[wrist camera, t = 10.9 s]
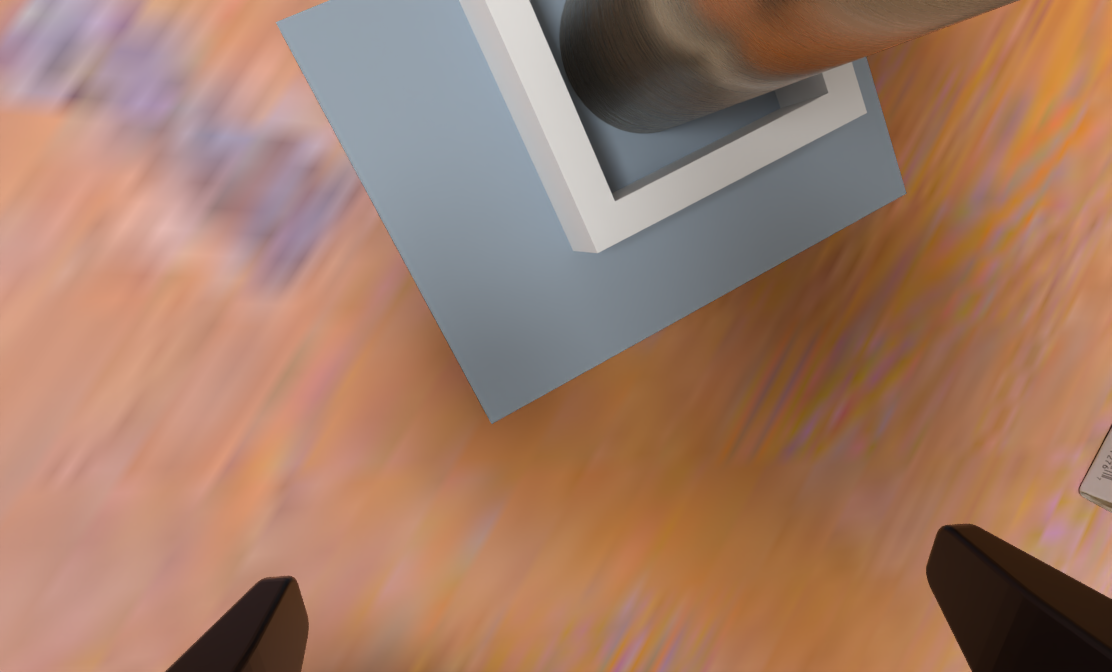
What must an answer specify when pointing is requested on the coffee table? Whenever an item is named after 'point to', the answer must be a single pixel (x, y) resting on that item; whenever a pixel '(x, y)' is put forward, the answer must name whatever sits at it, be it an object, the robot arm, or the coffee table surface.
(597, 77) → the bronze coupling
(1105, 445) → the cookie box
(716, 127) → the collar plate
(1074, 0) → the coffee table surface
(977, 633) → the robot arm
